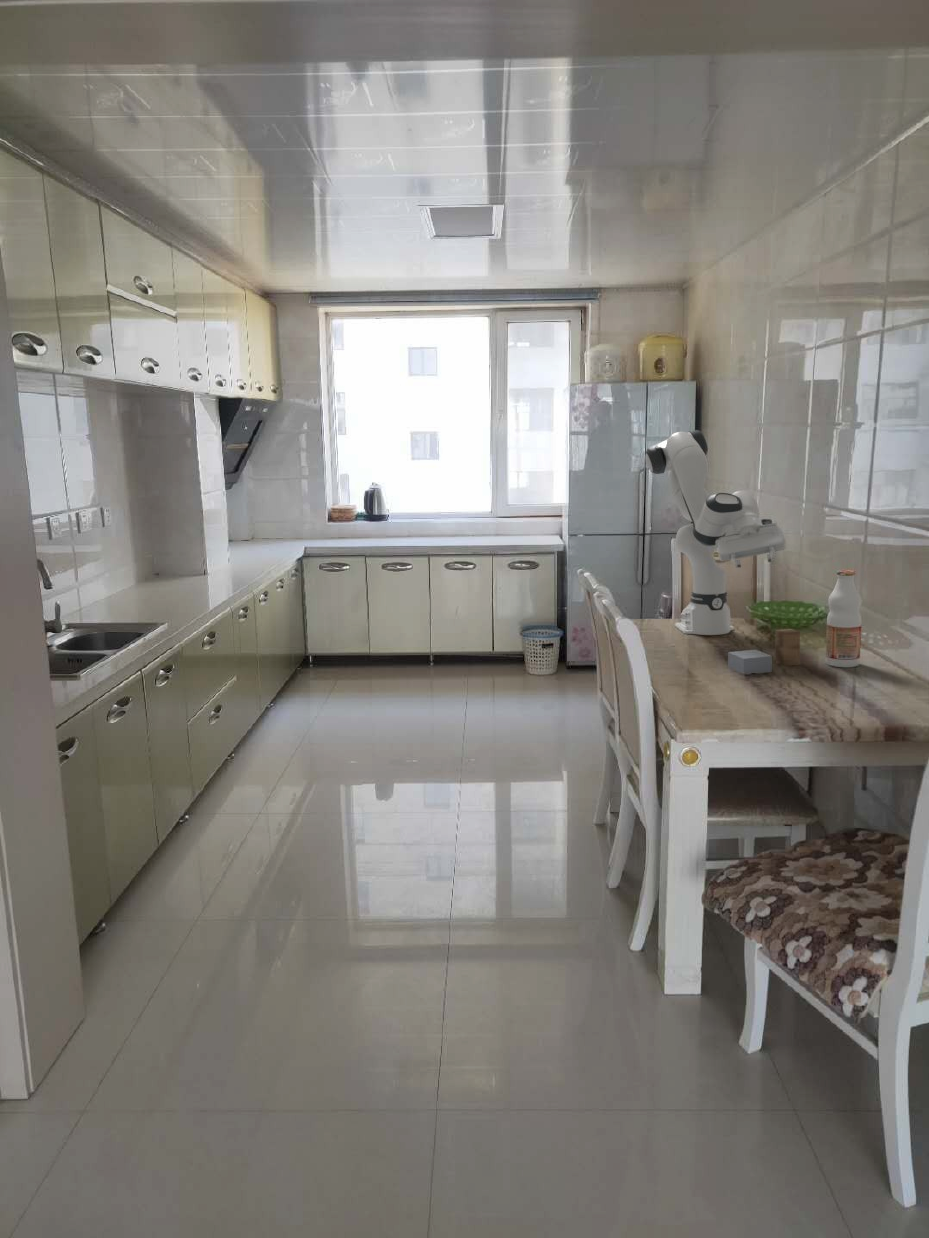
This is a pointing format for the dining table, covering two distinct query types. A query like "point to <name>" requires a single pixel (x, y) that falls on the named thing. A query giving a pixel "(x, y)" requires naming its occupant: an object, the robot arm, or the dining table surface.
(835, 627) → the fruit juice
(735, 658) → the slate grey base block
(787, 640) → the walnut block
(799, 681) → the dining table surface
